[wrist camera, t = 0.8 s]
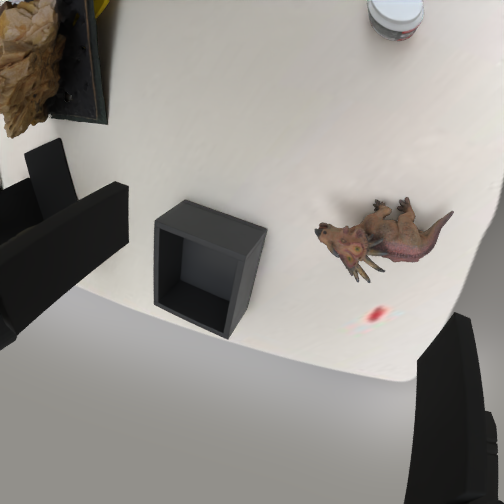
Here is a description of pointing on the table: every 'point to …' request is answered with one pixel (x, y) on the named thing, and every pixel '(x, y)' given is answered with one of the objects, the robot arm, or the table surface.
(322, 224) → the dinosaur figurine
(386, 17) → the pill bottle
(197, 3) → the table surface
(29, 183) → the table lamp
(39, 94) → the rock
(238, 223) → the basket
